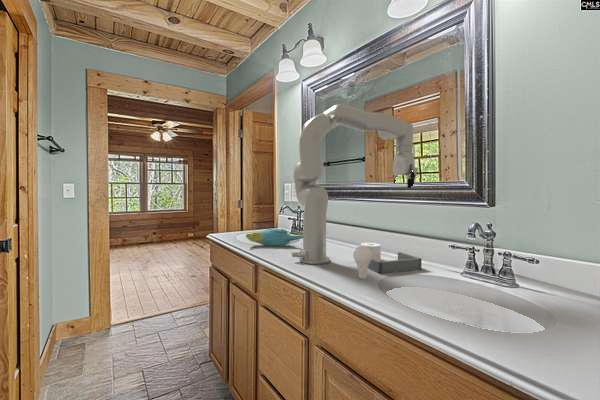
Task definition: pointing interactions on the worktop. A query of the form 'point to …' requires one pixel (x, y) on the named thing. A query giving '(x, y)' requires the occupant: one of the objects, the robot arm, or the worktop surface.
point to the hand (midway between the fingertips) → (403, 187)
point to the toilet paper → (374, 250)
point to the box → (396, 264)
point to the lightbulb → (362, 260)
